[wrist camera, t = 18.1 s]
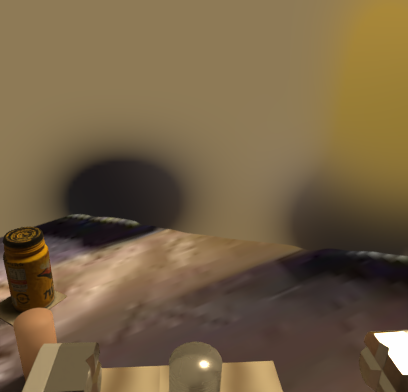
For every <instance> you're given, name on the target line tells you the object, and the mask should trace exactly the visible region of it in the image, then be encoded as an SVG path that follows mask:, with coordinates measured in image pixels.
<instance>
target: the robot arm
mask: <svg viewBox="0 0 408 392" xmlns="http://www.w3.org/2000/svg"><path fill="white" fill-rule="evenodd" d="M364 343H365V344H366V346H367V347H366V348H365V349H364V350H363V351H362V352H361V353H360V358H359V367H360V372H361V375H362V378H363V379H364V381H365V383H366V385H367V386H369V387H370V388H371V389H373V390H374V391H375V392H408V330H400V331H398V330H396V331H376V332H368V333H367V334H366V336H365V339H364ZM99 354H100V350H99V344H98V343H47V344H43V346H42V347H41V348H40V350H39V352H38V355H37V357H36V359H35V362H34V364H33V366H32V369H31V371H30V373H29V376H28V378H27V380H26V383H25V385H24V388H23V390H22V392H100V390H101V379H102V369H101V363H100V362H99V361H98V358H99Z"/></svg>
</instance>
